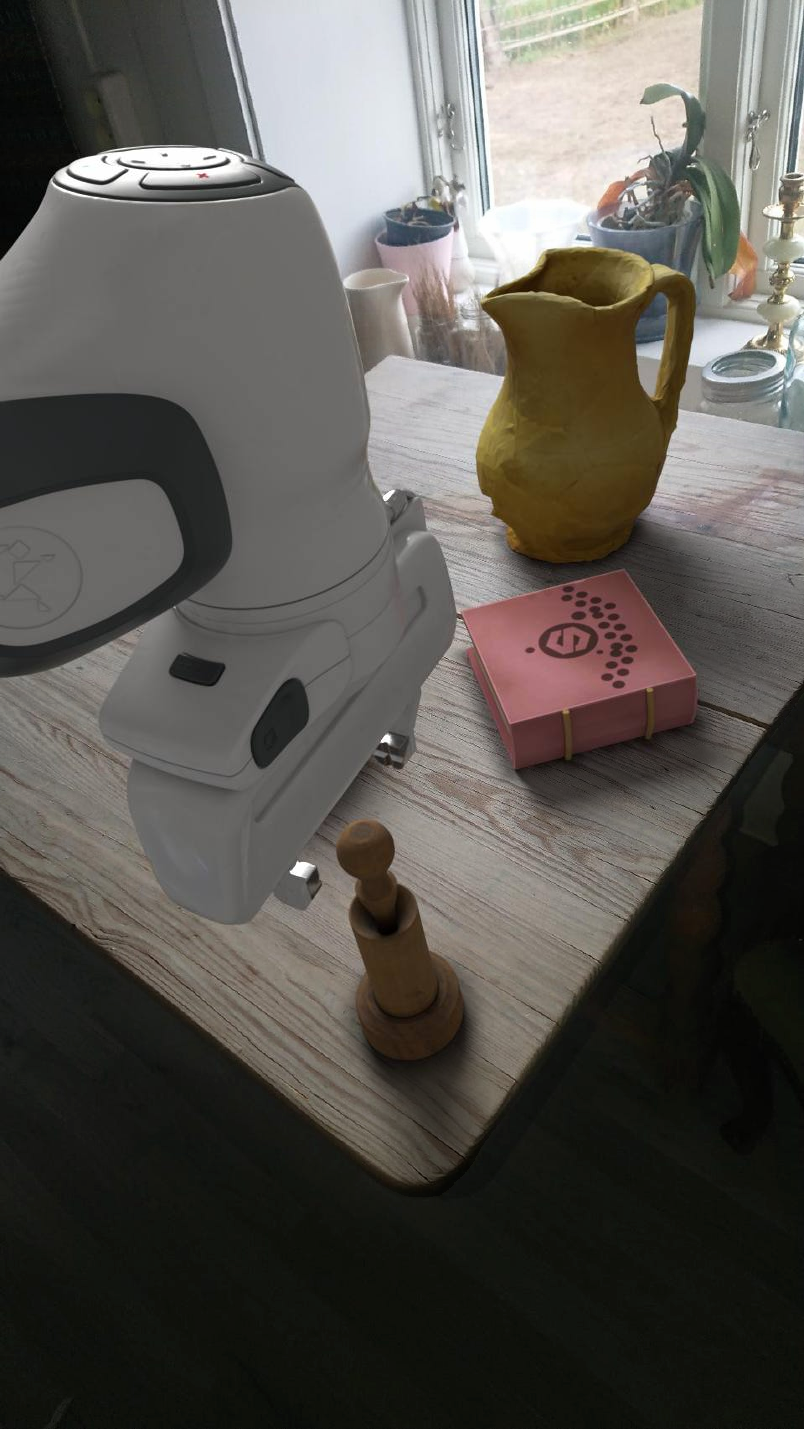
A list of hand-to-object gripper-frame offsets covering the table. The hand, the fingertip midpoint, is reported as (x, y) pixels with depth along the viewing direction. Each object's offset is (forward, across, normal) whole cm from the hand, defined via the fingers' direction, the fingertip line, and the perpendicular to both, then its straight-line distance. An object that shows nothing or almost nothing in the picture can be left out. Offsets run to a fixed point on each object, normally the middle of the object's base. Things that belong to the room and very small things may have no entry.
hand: (351, 822), depth 48 cm
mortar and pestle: (+19, 0, 0) cm, 19 cm away
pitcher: (+18, -53, -9) cm, 57 cm away
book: (+19, -31, -1) cm, 37 cm away
